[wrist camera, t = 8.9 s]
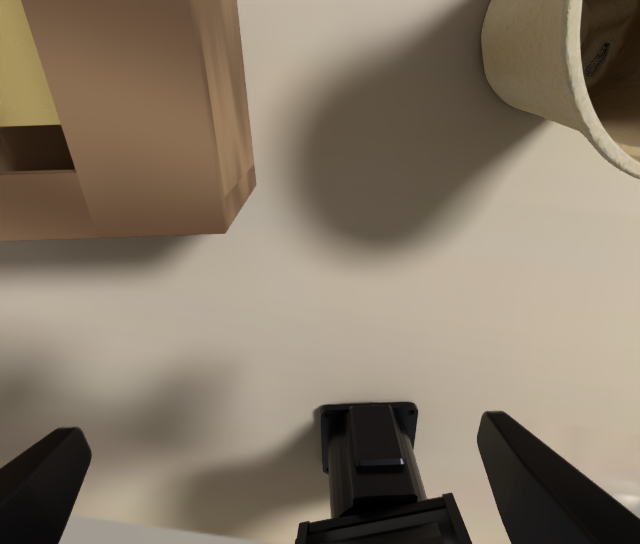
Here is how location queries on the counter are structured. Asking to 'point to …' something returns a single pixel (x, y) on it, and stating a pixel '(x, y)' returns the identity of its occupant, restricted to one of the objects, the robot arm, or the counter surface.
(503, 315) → the counter surface
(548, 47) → the flower pot
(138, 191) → the coin box
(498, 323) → the counter surface
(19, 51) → the block
